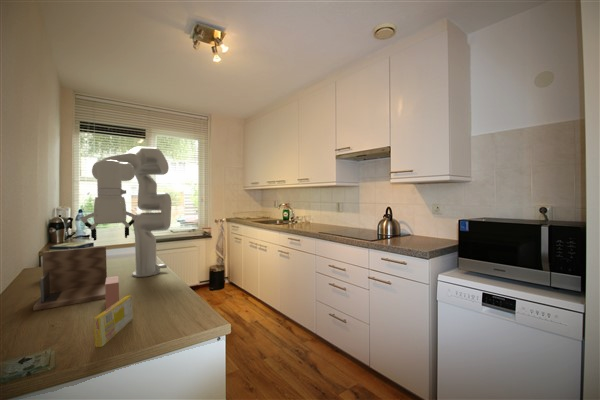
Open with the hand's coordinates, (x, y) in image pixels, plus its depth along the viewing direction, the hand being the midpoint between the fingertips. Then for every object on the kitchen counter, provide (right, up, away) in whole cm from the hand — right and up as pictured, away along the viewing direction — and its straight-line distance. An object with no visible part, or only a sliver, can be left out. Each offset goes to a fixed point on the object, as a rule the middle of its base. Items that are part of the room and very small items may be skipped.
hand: (110, 238), depth 104 cm
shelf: (-20, -25, +8) cm, 32 cm away
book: (0, -25, +1) cm, 25 cm away
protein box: (-48, -24, +41) cm, 67 cm away
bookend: (-25, -23, +3) cm, 34 cm away
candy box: (+16, -25, -21) cm, 37 cm away
